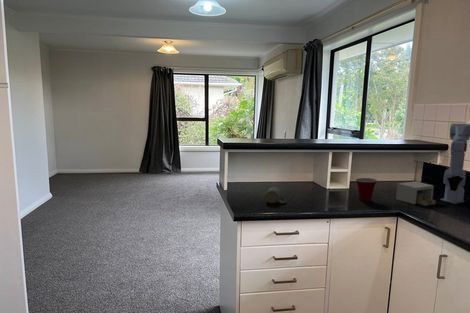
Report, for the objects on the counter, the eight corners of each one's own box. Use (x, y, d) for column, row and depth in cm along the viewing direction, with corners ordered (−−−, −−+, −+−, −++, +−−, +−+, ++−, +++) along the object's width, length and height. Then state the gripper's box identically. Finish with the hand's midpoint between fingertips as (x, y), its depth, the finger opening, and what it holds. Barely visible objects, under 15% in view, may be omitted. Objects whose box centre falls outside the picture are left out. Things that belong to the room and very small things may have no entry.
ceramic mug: (264, 203, 167) (265, 189, 166) (267, 199, 175) (268, 185, 174) (284, 205, 164) (285, 191, 163) (286, 201, 172) (287, 187, 171)
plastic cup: (357, 196, 184) (359, 176, 183) (377, 200, 178) (379, 179, 176) (351, 200, 176) (352, 179, 174) (371, 204, 169) (373, 182, 168)
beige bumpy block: (417, 199, 181) (418, 190, 180) (435, 204, 172) (436, 194, 171) (408, 201, 178) (409, 191, 177) (425, 206, 169) (426, 196, 168)
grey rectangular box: (413, 196, 187) (415, 181, 186) (431, 201, 177) (433, 185, 176) (395, 198, 181) (397, 183, 179) (414, 204, 171) (415, 188, 169)
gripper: (456, 166, 155) (452, 193, 157) (473, 165, 161) (469, 191, 163) (441, 164, 161) (438, 190, 163) (458, 162, 168) (455, 187, 170)
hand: (453, 190), depth 164 cm, fingers closed
